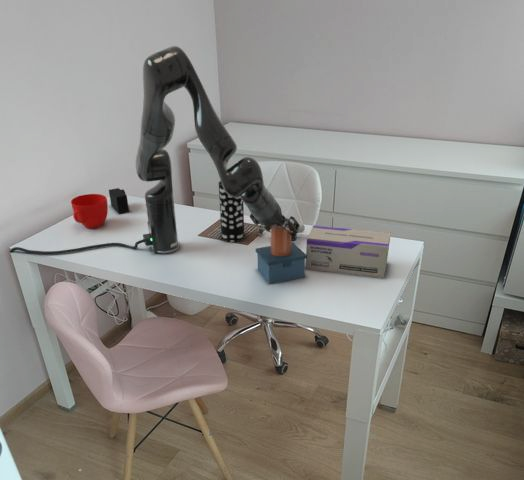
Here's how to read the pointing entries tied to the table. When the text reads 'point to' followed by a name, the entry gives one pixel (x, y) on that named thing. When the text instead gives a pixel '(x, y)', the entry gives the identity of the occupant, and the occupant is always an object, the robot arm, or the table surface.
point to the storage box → (281, 264)
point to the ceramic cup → (90, 210)
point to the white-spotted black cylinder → (231, 216)
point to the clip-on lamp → (300, 230)
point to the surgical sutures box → (347, 251)
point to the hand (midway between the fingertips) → (282, 231)
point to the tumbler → (280, 241)
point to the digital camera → (119, 200)
